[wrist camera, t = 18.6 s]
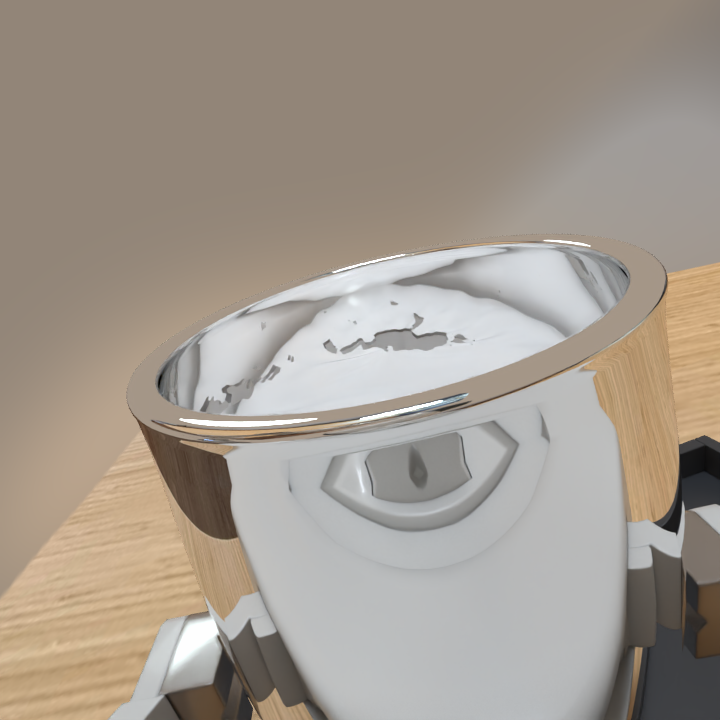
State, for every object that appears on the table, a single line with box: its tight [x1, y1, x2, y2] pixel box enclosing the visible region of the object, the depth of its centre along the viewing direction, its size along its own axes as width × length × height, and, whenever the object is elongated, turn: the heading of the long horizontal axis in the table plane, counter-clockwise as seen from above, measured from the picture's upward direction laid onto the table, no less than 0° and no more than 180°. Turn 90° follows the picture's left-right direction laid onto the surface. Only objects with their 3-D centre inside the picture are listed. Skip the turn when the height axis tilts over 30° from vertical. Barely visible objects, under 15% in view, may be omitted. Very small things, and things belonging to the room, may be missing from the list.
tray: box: [673, 435, 720, 720], centre depth 14 cm, size 21×15×2 cm
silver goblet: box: [127, 234, 687, 720], centre depth 9 cm, size 7×7×15 cm
